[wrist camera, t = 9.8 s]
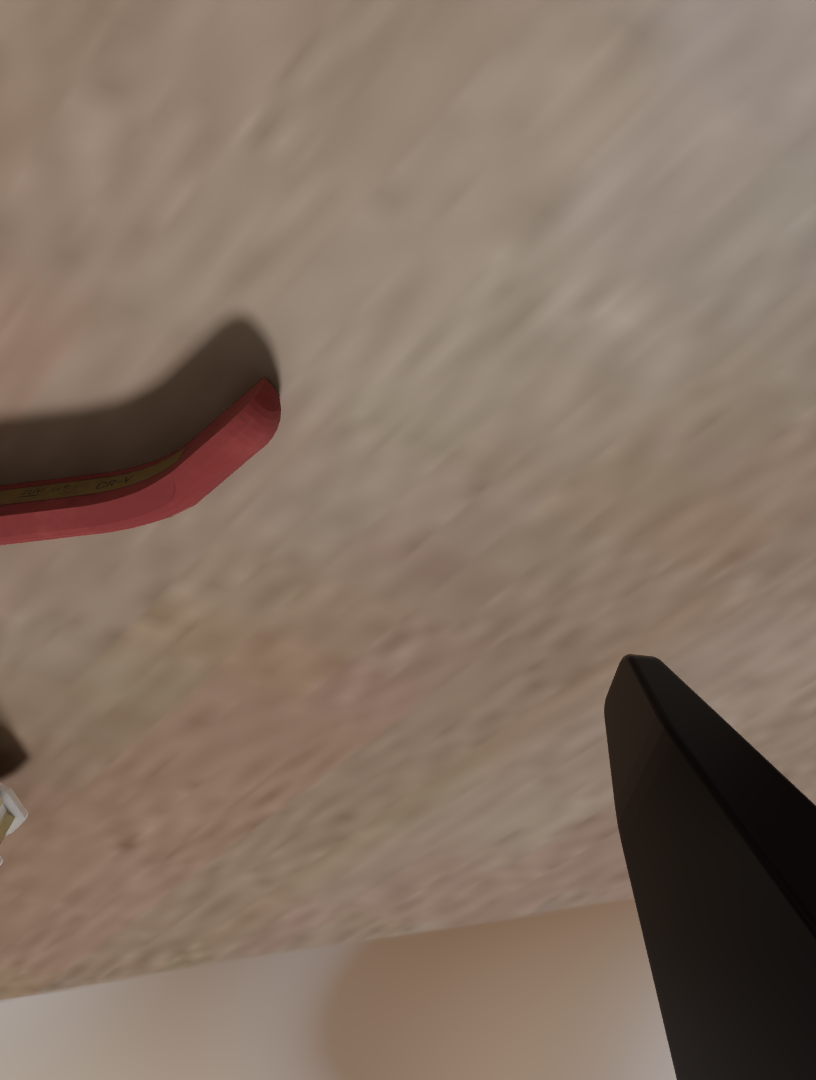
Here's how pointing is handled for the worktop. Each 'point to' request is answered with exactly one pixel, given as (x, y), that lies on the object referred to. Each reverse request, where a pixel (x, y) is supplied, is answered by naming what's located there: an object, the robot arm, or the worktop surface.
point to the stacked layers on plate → (10, 812)
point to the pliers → (142, 480)
